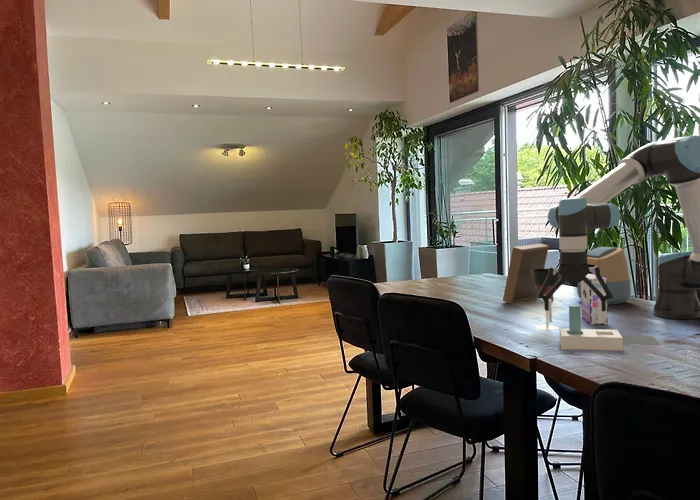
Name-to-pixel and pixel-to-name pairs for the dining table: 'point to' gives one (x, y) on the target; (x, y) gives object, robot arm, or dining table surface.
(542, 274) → the wineglass
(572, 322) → the peg
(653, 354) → the dining table surface
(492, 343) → the dining table surface
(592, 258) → the tan and grey appliance
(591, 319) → the candy box
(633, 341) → the mat
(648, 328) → the dining table surface
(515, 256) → the photo frame
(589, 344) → the hole block
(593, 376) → the dining table surface
